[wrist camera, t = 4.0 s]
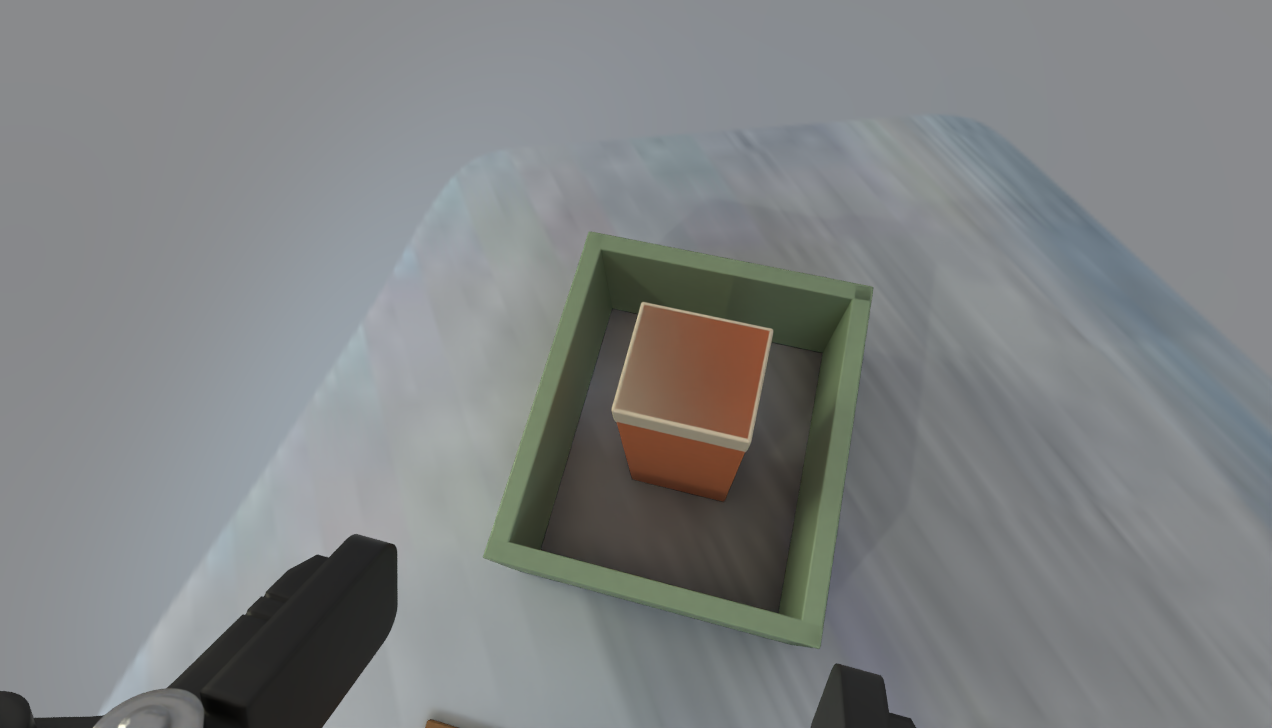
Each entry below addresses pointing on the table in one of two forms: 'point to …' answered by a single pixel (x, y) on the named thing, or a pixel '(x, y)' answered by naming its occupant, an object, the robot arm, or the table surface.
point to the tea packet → (690, 398)
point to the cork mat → (437, 724)
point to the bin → (720, 289)
